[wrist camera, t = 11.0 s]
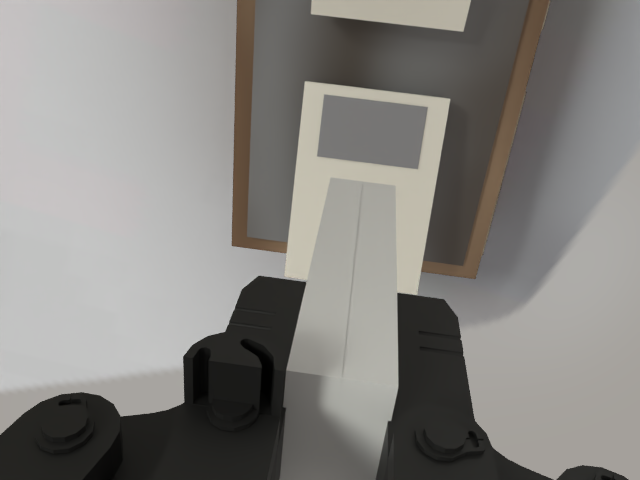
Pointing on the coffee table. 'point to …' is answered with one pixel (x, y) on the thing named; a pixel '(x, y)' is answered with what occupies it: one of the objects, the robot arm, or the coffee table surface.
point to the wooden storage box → (389, 75)
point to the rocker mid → (399, 12)
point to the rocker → (367, 165)
